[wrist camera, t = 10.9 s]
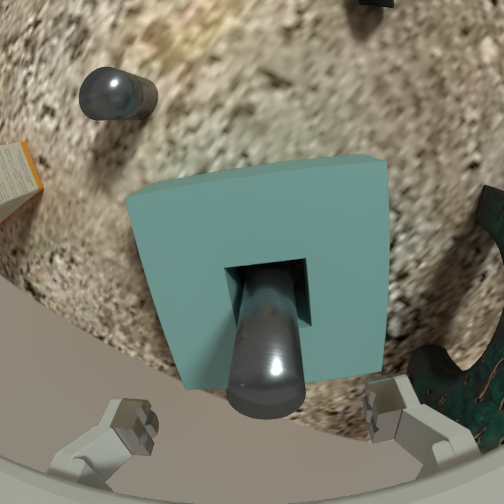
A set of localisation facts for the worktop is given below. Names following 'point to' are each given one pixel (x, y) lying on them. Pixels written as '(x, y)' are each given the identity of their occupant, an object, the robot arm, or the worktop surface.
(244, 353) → the long pin
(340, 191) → the hole block
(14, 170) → the supplement box
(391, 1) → the electric trimmer
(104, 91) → the short pin
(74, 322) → the worktop surface
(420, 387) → the ceramic cat
